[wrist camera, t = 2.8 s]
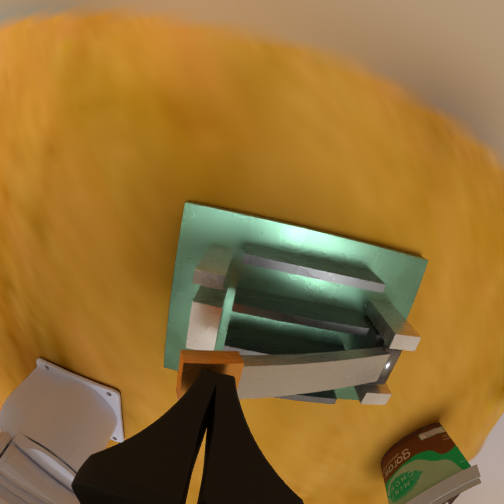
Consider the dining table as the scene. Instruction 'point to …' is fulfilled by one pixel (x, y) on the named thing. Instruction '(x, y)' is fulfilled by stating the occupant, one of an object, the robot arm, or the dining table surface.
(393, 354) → the grey and orange bar
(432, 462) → the food container
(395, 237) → the dining table surface
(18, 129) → the dining table surface
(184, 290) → the green base metal fixture
